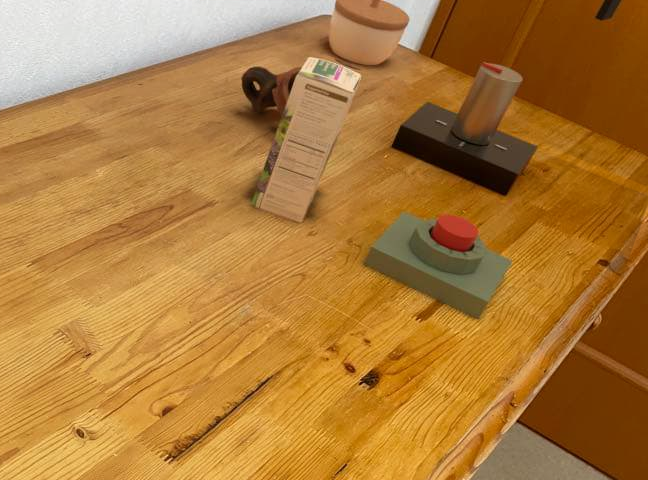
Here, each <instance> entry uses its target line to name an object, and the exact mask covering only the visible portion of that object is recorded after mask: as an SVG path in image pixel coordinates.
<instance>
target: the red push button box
mask: <svg viewBox="0 0 648 480" xmlns="http://www.w3.org/2000/svg"><path fill="white" fill-rule="evenodd" d="M437 220H438V218H430V219H422V218H420V217H418V216H416V215H414V214H411V213H409V212H407V211H405V210H404V211H402V212H401V214H399V216H398V217H397V218H396V219H395V220H394V221H393V222H392V223H391V224H390V226H388V228H387V229H386V230H385V231H384V232H383V233H382V234H381V235H380V237H379V238H377V240H376V241H374V243H373V244H372V245H371V246H370V248H369V250H368V252H367V255H366V257H365V259H364V262H363V265H364V266H366V267H369V268H370V269H372V270H375V271H376V272H379V273H380V274H383V275H385V276H387V277H389V278H391V279H392V280H395V281H397V282H399V283H401V284H403V285H405V286H408V287H410V288H412V289H413V290H416V291H418V292H420V293H422V294H424V295H426V296H428V297H430V298H432V299H434V300H436V301H439V302H440V303H442V304H444V305H447V306H449V307H451V308H452V309H455V310H457V311H459V312H461V313H463V314H465V315H468V316H470V317H472V318H473V319H476V320H479V319H480V317H481V315H482V314H483V312H484V310H485V309H486V307H487V305H488V304H489V302H490V300H491V299H492V297H493V295H494V293H495V292H496V291H497V289H498V287H499V285H500V284H501V282H502V281H503V279H504V277H505V275H506V274H507V272H508V270H509V269H510V267H511V265H512V264H513V262H514V260H513V259H510V258H509V257H505V256H503V255H501V254H499V253H497V252H495V251H493V250H490V249H488V248H487V246H486V244H485V242H484V240H483V239H482V238H481V237H479V235H477V237H476V239H475V241H474V243H473V244H472V246H471V248H470V250H469V251H467V252H458V251H453V250H450V249H448V248H446V247H443V246H441V245H439V244H438V243H437V242H435V241H434V240H433V239H432V238H431V236H430V234H431V232H432V230H433V228H434V226H435V224H436V222H437Z"/></svg>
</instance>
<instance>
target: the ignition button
mask: <svg viewBox="0 0 648 480" xmlns="http://www.w3.org/2000/svg"><path fill="white" fill-rule="evenodd" d="M437 219H438V220H437V222H436V224H435V226H434V228H433V230H432V232H431V234H430V236H431V238H432V239H433V240H434V241H435V242H437V243H438V244H439V245H441V246H443V247H446V248H448V249H450V250H453V251H458V252H467V251H469V250H470V248H471V246H472V244H473V243H474V241H475V239H476V237H477V236H479V230H478V228H477V227H476V226H475V225H474V224H473V223H472V222H470V221H469V220H467V219H466V218H463V217H461V216H457V215H452V214H443V215H440V216H439V217H438V218H437Z"/></svg>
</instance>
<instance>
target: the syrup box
mask: <svg viewBox="0 0 648 480" xmlns="http://www.w3.org/2000/svg"><path fill="white" fill-rule="evenodd" d="M301 67H302V68H301V70H300V71H299V73H298V75H297V76H296V78H295V81H294V84H293V86H292V89H291V92H290V95H289V98H288V101H287V104H286V106H285V109H284V112H283V115H282V116H281V117H280V120H279V124H278V126H277V128H276V130H277V132H276V131H275V133H276V135H275V134H274V138H273V141H272V143H271V146H270V149H269V152H268V155H267V158H266V160H265V163H264V166H263V169H262V172H261V175H260V177H259V181H258V183H257V186H256V189H255V192H254V195H253V197H252V201H251V203H250V205H251V207H252V208H254V209H257V210H260V211H264V212H266V213H269V214H272V215H274V216H277V217H280V218H284V219H287V220H290V221H292V222H296V223H299V224H303V222H304V219H305V217H306V215H307V213H308V210H309V208H310V206H311V204H312V202H313V199H314V197H315V194H316V192H317V189H318V187H319V185H320V182H321V180H322V178H323V175H324V172H325V170H326V167H327V164H328V163H329V160H330V157H331V155H332V153H333V150H334V148H335V145H336V143H337V140H338V138H339V135H340V132H341V131H342V127H343V125H344V123H345V120H346V117H347V115H348V112H349V110H350V108H351V105H352V103H353V100H354V98H355V96H356V95H355V94H356V92H357V89H358V87H359V85H360V82H361V79H362V77H363V76H362V75H361V74H360V73H359V72H356V71H355V70H354V69H353V70H352V69H351V68H349V67H347V66H345V65H342V64H338V63H335V62H333V61H330V60H326V59H323V58H318V57H311V56H308V57H307V58H306V61H305V62H304V63H303V65H302V66H301Z"/></svg>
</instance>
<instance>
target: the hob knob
mask: <svg viewBox="0 0 648 480" xmlns="http://www.w3.org/2000/svg"><path fill="white" fill-rule="evenodd" d="M522 82H523V76H522V75H521V74H520V73H518V72H517V71H515V70H513V69H512V68H509V67H507V66H504V65H501V64H496V63H488V62H485V61H482V63H481V65H480V67H479V69H478V71H477V73H476V75H475V77H474V79H473V82H472V83H471V86H470V88H469V90H468V92H467V94H466V96H465V98H464V100H463V102H462V105H461V106H460V109H459V111H458V113H457V114H458V115H457V117H456V119H455V121H454V123H453V125H452V127H451V131H452V133H453V134H454V135H456V136H457V137H458V138H460V139H462V140H464V141H467V142H469V143H473V144H478V145H487V144H489V143H490V142H491V140H492V138H493V136H494V134H495V132H496V130H498V128H499V126H500V125H501V122H502V120H503V119H504V117H505V115H506V112H507V111H508V109H509V107H510V106H511V103H512V102H513V99H514V97H515V95H516V93H517V91H518V90H519V88H520V86H521V84H522Z"/></svg>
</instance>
